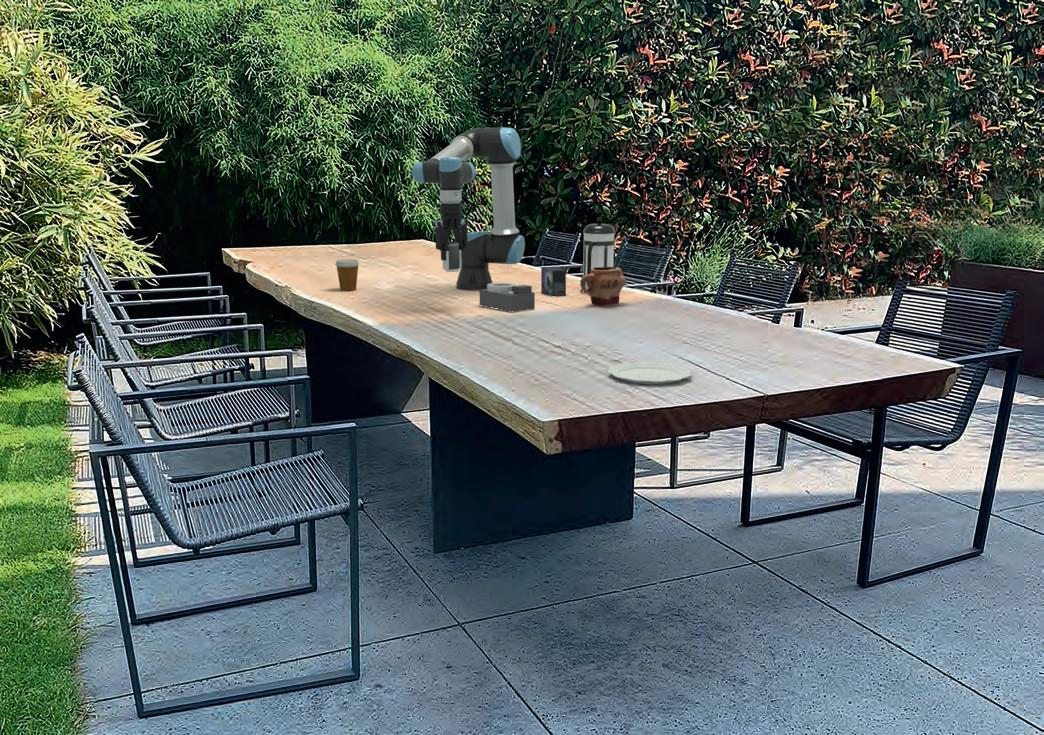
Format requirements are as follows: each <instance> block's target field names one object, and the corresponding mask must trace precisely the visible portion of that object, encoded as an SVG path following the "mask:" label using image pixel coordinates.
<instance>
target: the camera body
mask: <svg viewBox="0 0 1044 735" xmlns="http://www.w3.org/2000/svg"><path fill="white" fill-rule="evenodd" d="M532 288H533V287H532V285H527V284H521V285H520V284H519V285H516V284H515V283H510V282H493V283H491V284H487V289H482V290H478V292H479V306H480V305H482V306H487V307H493V308H498V309H502V310H506V311H505V312H507V311H511V312H510V313H513V312H512V311H518V312H520V311H519V310H525V311H527V310H526V309H532V310H535V309H536V308H535V307H536V306H535V304H536V303H535V302H536V301H535V299H536V298H535V297H536V294H535V292H533V291H532V290H533V289H532ZM482 306H481V307H482ZM487 307H486V308H487ZM534 308H535V309H534ZM502 310H501V311H502Z"/></svg>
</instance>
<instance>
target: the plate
mask: <svg viewBox="0 0 1044 735" xmlns="http://www.w3.org/2000/svg"><path fill="white" fill-rule="evenodd" d="M607 373H608V374H609V375H612V376H614V377H615V378H618V379H620V380H622V381H625V382H629V383H634V384H640V385H641V384H642V385H665V384H673V383H677V382H679V381H681V380H683V379H688V378H690V377H691V376H692V371H691V369H689V368H686V367H684V366H681V365H676V364H670V363H667V362H666V363H665V362H650V361H635V362H624V363H619V364H616V365H612V366H610V367H609V368H608V370H607Z"/></svg>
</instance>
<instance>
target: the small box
mask: <svg viewBox="0 0 1044 735" xmlns="http://www.w3.org/2000/svg"><path fill="white" fill-rule="evenodd" d="M540 271H541V272H540V273H541V274H540V275H541V276H540V278H541V279H540V280H541V284H540V285H541V286H540V289H541V290H540V292H541V294H543V293H544V295H546V294H548V295H547V296H549V295H551V296H550V297H552V296H556V297H565V296H567V269H566V268H565V269H564V268H561V267H558V266H548V267H547V266H546V267H541V270H540Z"/></svg>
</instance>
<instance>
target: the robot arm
mask: <svg viewBox="0 0 1044 735" xmlns="http://www.w3.org/2000/svg"><path fill="white" fill-rule="evenodd" d="M521 146H522V144H521V140H520V136H519V134H518V132H517V130H516V129H514V128H512V127H503V126H502V127H476V128H472V129H469V130H467V131H464V132H463V133H460V134H458V135H457V136H455V137H454V138H453V139H452V140H451V143H450V144H449V145H447V146H446V147H445V148H443V149H442V150H441V151H439V152H438V153H437V154H435V155H434V156H432V157H431V158H430V159H428V160H427V161H422V160H421V161H416V162H415V163H414V164H413V165H412V171H411V172H412V173H411V174H412V178H413V181H414V182H416V183H418V184H420V183H421V184H439V201H440V202H441V203H440V204H439V207H440V210H439V211H440V212H439V213H440V219H439V220H436V221H434V222H433V225H434V228H435V249H436V250H438V251H439V252H440V259H441V261H442V270H444V271H445V270H449V251H446V250H447V245H448V242H449V238H450V233H451V232H453V236H454V237H453V238H454V242H458V243H459V271H458V276H457V280H456V285H455V288H456V289H458V290H465V291H466V290H467V291H479V290H482V289H487V284H491V283H494V282H493V280H492V277H491V276H492V275H491V273H490V269H489V268H490V267H489V265H490V264H499V265H517V264H519V263H520V262H521V261H522V258H523V256H524V252H525V248H526V241H525V237H524V236H523V235H520V230H519V229H518V228H517V227H516V220H515V219H516V215H515V214H516V212H515V193H514V192H515V191H514V170H513V167H514V165H515V164H516V163H517V159H519V158H520V156H521V151H522V147H521ZM475 158H476V159H486V165H488V166H489V168H490V175H491V176H490V177H491V197H492V198H491V199H492V212H493V216H492V217H493V228H492V229H491V230H490V232H489V231H488V230H479V231H473V232H468V223H469V220H468V219H466V218H463V217H462V212H463V210H462V209H463V208H462V207H463V204H462V201H463V200H462V196H463V195H462V184H465V185H467V184H469V183H471V182H472V181H474V180H475V178H476V175H477V174H476V173H477V172H476V167H475V166H474V165H473V164H472V163H471V162H468V161H467V160H470V159H475ZM489 233H490V234H489Z"/></svg>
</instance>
